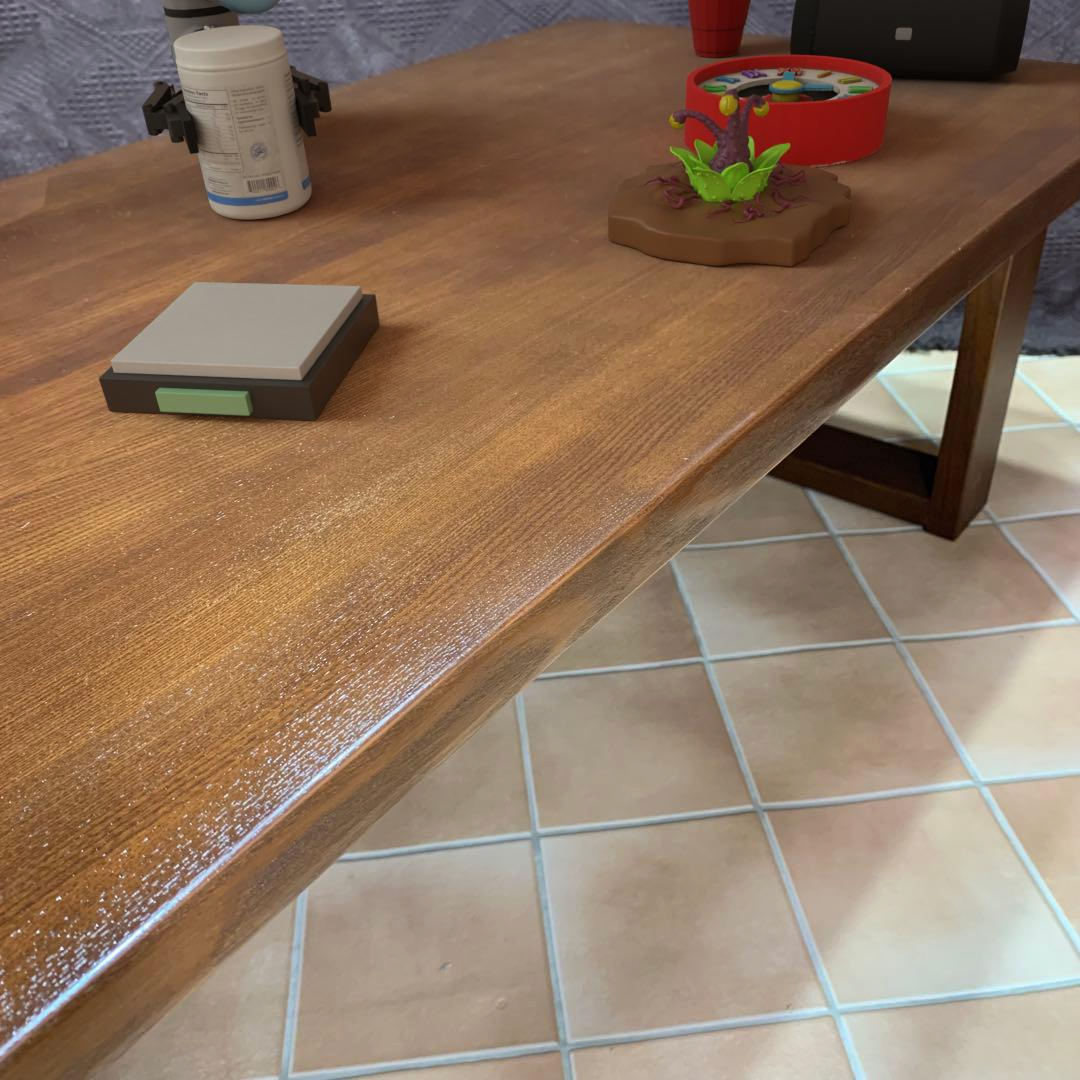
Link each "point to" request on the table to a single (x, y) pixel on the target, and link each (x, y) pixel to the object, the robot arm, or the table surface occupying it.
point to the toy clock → (797, 105)
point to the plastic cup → (717, 26)
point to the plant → (728, 199)
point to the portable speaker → (915, 35)
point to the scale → (244, 351)
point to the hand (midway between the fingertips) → (251, 128)
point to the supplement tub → (244, 120)
